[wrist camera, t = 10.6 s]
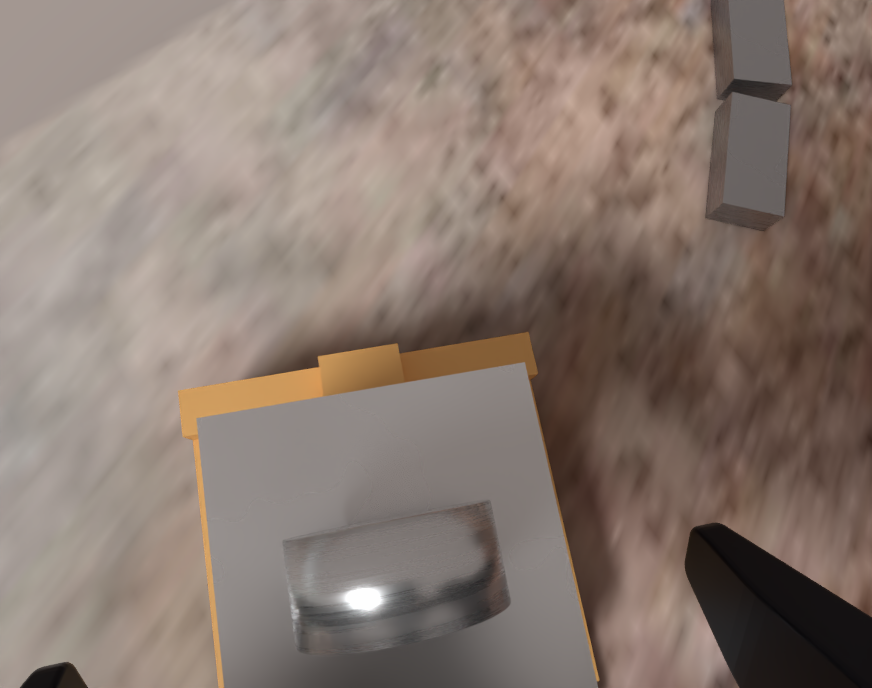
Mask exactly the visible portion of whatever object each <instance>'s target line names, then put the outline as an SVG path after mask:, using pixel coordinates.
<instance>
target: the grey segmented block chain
mask: <svg viewBox="0 0 872 688" xmlns="http://www.w3.org/2000/svg"><path fill="white" fill-rule="evenodd" d="M711 11H712V27H713V42H714V58H715V73H716V89H717V99H722V100H725V101H724V102H723V103H722V104H721V106H720V107H719V108H718V109H717V110H716V111H715V121H714V132H713V143H712V153H711V164H710V175H709V186H708V196H707V207H706V218H708V219H712V220H717V221H721V222H726V223H730V224H735V225H739V226H744V227H748V228H753V229H758V230H762V231H764V230H766V229H767V228H769V227H770V226H772V225H773V224H774V223H776V222H777V221H779V220H780V219H781V218H783V217H784V212H785V195H786V178H787V160H788V143H789V126H790V108H791V105H788V104H783V103H779V102H776V100H777V99H778V98H779V97H780V96H781V95H782V94H783V93H784V92H785V91H786V90H787V89H788V88H789V87H790V86H791V85H792V81H791V70H790V60H789V50H788V40H787V30H786V20H785V9H784V0H711Z"/></svg>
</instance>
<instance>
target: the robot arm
mask: <svg viewBox="0 0 872 688" xmlns="http://www.w3.org/2000/svg"><path fill="white" fill-rule="evenodd" d="M685 571H686V575H687V578H688V580H689V582H690V584H691V587H692V589H693V591H694V593H695V595H696V597H697V600H698V602H699V604H700V606H701V608H702V611H703V613H704V615H705V617H706V619H707V621H708V624H709V626H710V628H711V630H712V632H713V635H714V637H715V639H716V641H717V643H718V645H719V648H720V650H721V652H722V654H723V656H724V659H725V661H726V663H727V665H728V667H729V669H730V671H731V673H732V675H733V677H734V679H735V680H736V682H737V684H738V686H739V688H872V617H870V616H869V615H867V614H866V613H864V612H862V611H861V610H859V609H858V608H856V607H854V606H853V605H851V604H850V603H848V602H846V601H845V600H843V599H842V598H840V597H838V596H837V595H835V594H834V593H832V592H830V591H829V590H827V589H826V588H824V587H822V586H821V585H819V584H818V583H816V582H814V581H813V580H811V579H810V578H808V577H806V576H805V575H803V574H802V573H800V572H798V571H797V570H795V569H794V568H792V567H790V566H789V565H787V564H786V563H784V562H782V561H781V560H779V559H778V558H776V557H774V556H773V555H771V554H770V553H768V552H766V551H765V550H763V549H762V548H760V547H758V546H757V545H755V544H754V543H752V542H750V541H749V540H747V539H746V538H744V537H742V536H741V535H739V534H738V533H736V532H734V531H733V530H731V529H730V528H728V527H726V526H725V525H723V524H720V523H710V524H705V525H700V526H696V527H694V528H693V529H692V530H691V532H690V537H689V542H688V547H687V552H686V558H685ZM20 688H88V687H87V685H86V684H85V682H84V681H83V679H82V678H81V676H80V674H79V673H78V671H77V670H76V668H75V667H74V665H73V664H71V663H69V662H63V663H58V664H54V665H49V666H45V667H41V668H39V669H37V670H35V671H34V672H33V673H32V674H31V675H30V676H29V677H28V678H27V680H26V681H25V682H24V683H23V684H22V686H21V687H20Z"/></svg>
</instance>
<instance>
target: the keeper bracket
mask: <svg viewBox="0 0 872 688" xmlns="http://www.w3.org/2000/svg"><path fill="white" fill-rule="evenodd" d="M318 362H319V367H316V368H310V369H304V370H298V371H292V372H286V373H281V374H275V375H269V376H263V377H257V378H251V379H245V380H239V381H233V382H227V383H221V384H215V385H209V386H203V387H197V388H191V389H185V390H179V391H178V395H179V405H180V415H181V424H182V434H183V437H185V438H188V439H191V440H193V446H194V455H195V465H196V475H197V484H198V494H199V503H200V513H201V522H202V532H203V541H204V551H205V561H206V570H207V580H208V589H209V599H210V608H211V618H212V628H213V637H214V647H215V656H216V666H217V675H218V685H219V688H224V681H223V671H222V662H221V652H220V642H219V633H218V623H217V613H216V604H215V594H214V584H213V575H212V565H211V555H210V546H209V536H208V526H207V516H206V507H205V497H204V487H203V478H202V468H201V458H200V449H199V439H198V429H197V420H196V418H201V417H207V416H212V415H218V414H224V413H230V412H236V411H242V410H248V409H253V408H259V407H265V406H271V405H277V404H283V403H289V402H294V401H300V400H306V399H312V398H318V397H324V396H329V395H335V394H341V393H347V392H353V391H359V390H365V389H370V388H376V387H382V386H388V385H394V384H400V383H405V382H411V381H417V380H423V379H429V378H435V377H441V376H446V375H452V374H458V373H464V372H470V371H476V370H482V369H487V368H493V367H499V366H505V365H511V364H517V363H522V362H525V365H526V370H527V374H528V379H529V383H530V387H531V392H532V396H533V401H534V405H535V410H536V414H537V419H538V423H539V427H540V432H541V436H542V441H543V445H544V450H545V454H546V458H547V463H548V467H549V472H550V476H551V481H552V485H553V490H554V494H555V498H556V503H557V507H558V512H559V516H560V521H561V525H562V529H563V534H564V538H565V543H566V547H567V552H568V556H569V561H570V565H571V569H572V574H573V578H574V583H575V587H576V592H577V596H578V600H579V605H580V609H581V614H582V618H583V623H584V627H585V632H586V636H587V640H588V645H589V649H590V654H591V658H592V663H593V667H594V671H595V676H596V680H597V681H600V680H599V676H598V672H597V667H596V663H595V659H594V654H593V650H592V646H591V641H590V637H589V632H588V628H587V624H586V619H585V615H584V611H583V606H582V602H581V598H580V593H579V589H578V584H577V580H576V576H575V571H574V567H573V563H572V558H571V554H570V550H569V545H568V541H567V536H566V532H565V528H564V523H563V519H562V515H561V510H560V506H559V502H558V497H557V493H556V488H555V484H554V480H553V475H552V471H551V467H550V462H549V458H548V454H547V449H546V445H545V440H544V436H543V432H542V427H541V423H540V419H539V414H538V410H537V406H536V401H535V397H534V392H533V388H532V384H531V379H532V378H534V377H535V376H536V375H537V374H538V371H537V366H536V362H535V358H534V354H533V349H532V345H531V341H530V336H529V332H525V333H519V334H513V335H507V336H501V337H495V338H489V339H483V340H477V341H471V342H465V343H459V344H453V345H447V346H441V347H435V348H429V349H423V350H417V351H411V352H406V353H400V354H399V348H398V343H396V344H390V345H384V346H378V347H372V348H366V349H360V350H354V351H348V352H341V353H335V354H329V355H323V356H318Z"/></svg>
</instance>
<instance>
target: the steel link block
mask: <svg viewBox="0 0 872 688" xmlns="http://www.w3.org/2000/svg"><path fill="white" fill-rule="evenodd" d="M196 420H197V429H198V439H199V449H200V458H201V468H202V478H203V487H204V497H205V507H206V516H207V526H208V536H209V546H210V555H211V565H212V575H213V584H214V594H215V604H216V613H217V623H218V633H219V642H220V652H221V662H222V671H223V681H224V688H598V685H597V680H596V676H595V671H594V667H593V663H592V658H591V654H590V649H589V645H588V640H587V636H586V632H585V627H584V623H583V618H582V614H581V609H580V605H579V600H578V596H577V592H576V587H575V583H574V578H573V574H572V569H571V565H570V561H569V556H568V552H567V547H566V543H565V538H564V534H563V529H562V525H561V521H560V516H559V512H558V507H557V503H556V498H555V494H554V490H553V485H552V481H551V476H550V472H549V467H548V463H547V458H546V454H545V450H544V445H543V441H542V436H541V432H540V427H539V423H538V419H537V414H536V410H535V405H534V401H533V396H532V392H531V387H530V383H529V379H528V374H527V370H526V365H525V362H522V363H517V364H511V365H505V366H499V367H493V368H487V369H482V370H476V371H470V372H464V373H458V374H452V375H446V376H441V377H435V378H429V379H423V380H417V381H411V382H405V383H400V384H394V385H388V386H382V387H376V388H370V389H365V390H359V391H353V392H347V393H341V394H335V395H329V396H324V397H318V398H312V399H306V400H300V401H294V402H289V403H283V404H277V405H271V406H265V407H259V408H253V409H248V410H242V411H236V412H230V413H224V414H218V415H212V416H207V417H201V418H196Z"/></svg>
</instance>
